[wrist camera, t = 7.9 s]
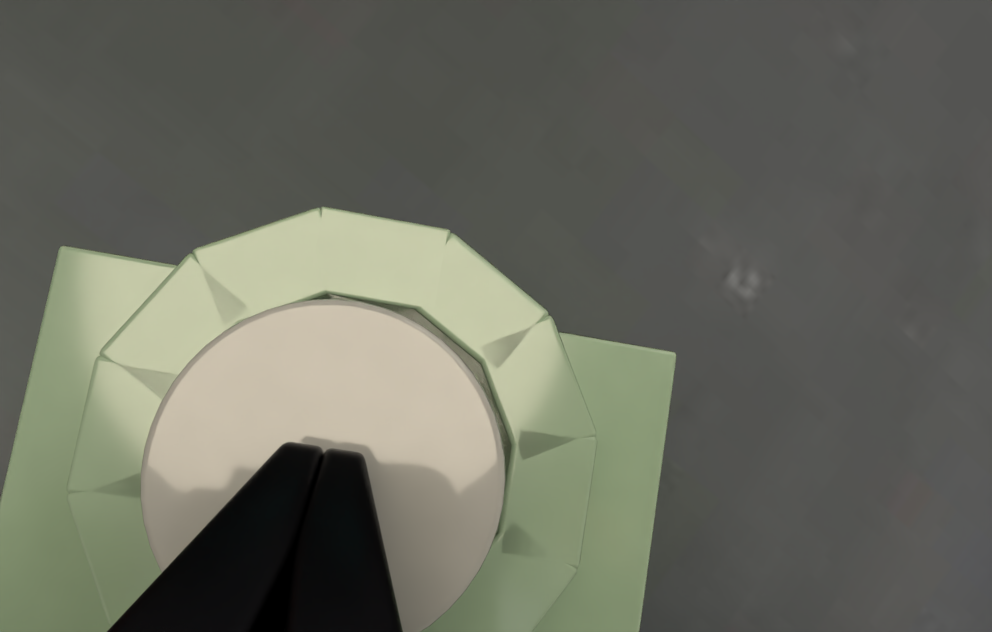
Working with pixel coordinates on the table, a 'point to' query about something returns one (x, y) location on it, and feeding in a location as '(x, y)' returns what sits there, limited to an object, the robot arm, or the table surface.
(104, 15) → the table surface
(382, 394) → the grey short cylinder
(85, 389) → the push button box
